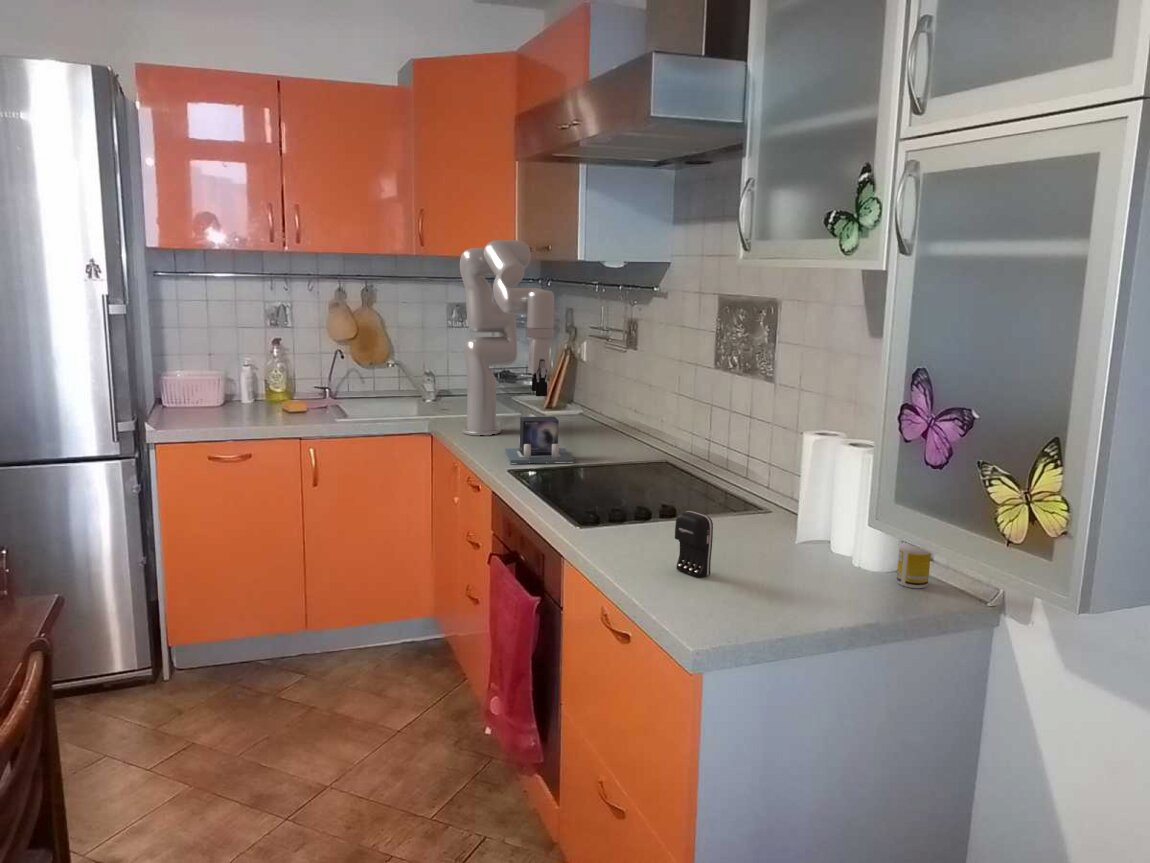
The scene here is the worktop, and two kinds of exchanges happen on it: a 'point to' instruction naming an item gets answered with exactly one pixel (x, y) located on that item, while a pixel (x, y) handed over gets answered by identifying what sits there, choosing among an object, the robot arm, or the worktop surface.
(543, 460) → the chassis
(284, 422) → the worktop surface
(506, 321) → the robot arm
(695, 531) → the battery charger
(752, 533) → the worktop surface
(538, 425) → the small box
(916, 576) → the supplement bottle
